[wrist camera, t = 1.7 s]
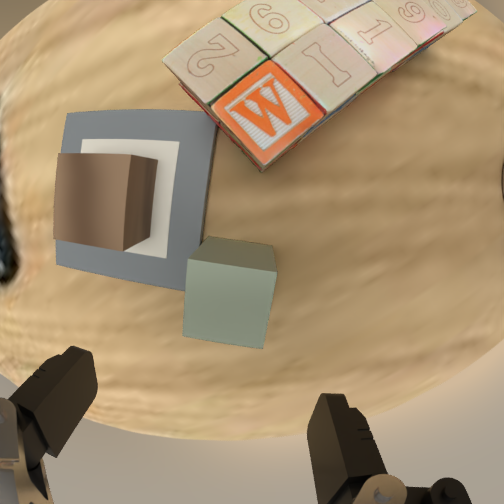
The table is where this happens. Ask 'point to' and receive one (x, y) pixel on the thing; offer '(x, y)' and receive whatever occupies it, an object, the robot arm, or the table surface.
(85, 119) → the board
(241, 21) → the stack of blocks
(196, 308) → the sage block
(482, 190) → the table surface
